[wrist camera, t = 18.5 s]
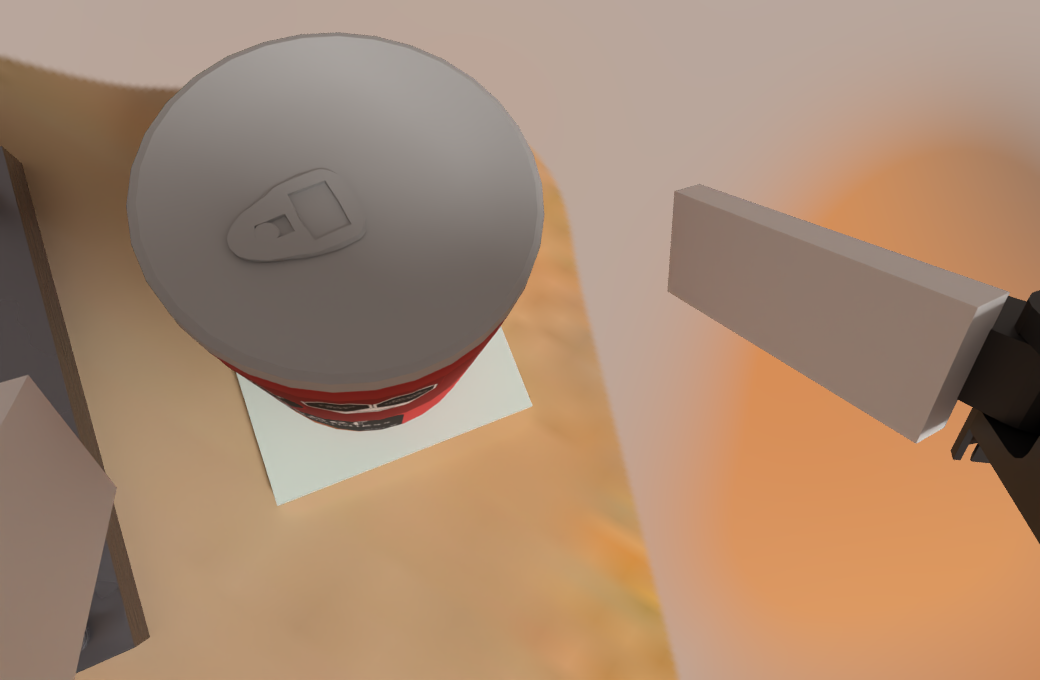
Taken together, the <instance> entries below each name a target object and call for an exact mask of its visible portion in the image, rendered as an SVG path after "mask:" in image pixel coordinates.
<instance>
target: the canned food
mask: <svg viewBox="0 0 1040 680" xmlns="http://www.w3.org/2000/svg"><path fill="white" fill-rule="evenodd" d="M126 208H127V215H128V223H129V230H130V238H131V245H132V247H133V250H134V252H135V255H136V257H137V260H138V262H139V264H140V267H141V269H142V272H143V274H144V277H145V279H146V282H147V283H148V284H149V286H150V287H151V289H152V290H153V291H154V293H155V294H156V295H157V297H158V298H159V300H160V301H161V302H162V304H163V305H164V306H165V308H166V309H167V311H168V312H169V313H170V315H171V316H172V317H173V318H174V319H175V321H176V322H177V324H178V325H179V326H180V327H181V328H182V329H183V330H184V331H186V332H187V333H188V334H189V335H190V336H191V337H192V338H194V339H195V340H196V341H197V342H198V343H199V344H200V345H202V346H203V347H204V348H205V349H206V350H207V351H209V352H210V353H211V354H212V355H214V356H215V357H217V358H218V359H219V360H220V361H222V362H223V363H224V364H225V365H226V366H228V367H229V368H231V369H232V370H234V371H235V372H237V373H238V374H240V375H241V376H243V377H244V378H246V379H247V380H249V381H250V382H252V383H253V384H255V385H256V386H258V387H259V388H261V389H262V390H264V391H265V392H267V393H268V394H270V395H271V396H273V397H274V398H276V399H277V400H279V401H280V402H282V403H283V404H285V405H286V406H288V407H289V408H291V409H292V410H294V411H295V412H297V413H299V414H301V415H302V416H304V417H306V418H308V419H310V420H311V421H313V422H315V423H318V424H322V425H325V426H328V427H331V428H334V429H340V430H349V431H358V432H359V431H371V430H382V429H386V428H389V427H393V426H397V425H400V424H403V423H406V422H408V421H410V420H412V419H414V418H416V417H418V416H420V415H422V414H424V413H425V412H426V411H428V410H429V409H431V408H432V407H433V406H435V405H436V404H437V403H439V402H440V401H441V400H442V399H443V398H444V397H445V396H446V394H447V393H448V392H449V391H450V390H451V389H452V388H453V387H454V386H455V384H456V383H457V382H458V381H459V379H460V378H461V377H462V376H463V374H464V373H465V372H466V370H467V369H468V368H469V367H470V365H471V364H472V363H473V362H474V360H475V359H476V358H477V356H478V355H479V354H480V353H481V351H482V350H483V349H484V348H485V346H486V345H487V344H488V342H489V341H490V340H491V339H492V337H493V336H494V335H495V334H496V332H497V331H498V329H499V328H500V326H501V325H502V323H503V321H504V320H505V319H506V317H507V316H508V314H509V313H510V311H511V310H512V308H513V306H514V305H515V303H516V302H517V300H518V298H519V297H520V295H521V294H522V292H523V290H524V289H525V287H526V284H527V281H528V278H529V276H530V273H531V270H532V268H533V265H534V262H535V259H536V257H537V254H538V251H539V248H540V244H541V236H542V229H543V221H544V205H543V192H542V183H541V179H540V176H539V173H538V169H537V166H536V162H535V159H534V155H533V153H532V151H531V149H530V147H529V145H528V143H527V141H526V140H525V138H524V136H523V134H522V132H521V130H520V128H519V126H518V125H517V124H516V122H515V121H514V120H513V118H512V117H511V116H510V115H509V113H508V112H507V111H506V110H505V108H504V107H503V106H502V104H501V103H500V102H499V101H498V100H497V99H496V98H495V97H494V96H493V95H492V94H491V93H489V92H488V91H487V90H486V89H485V88H484V87H483V86H482V85H481V84H479V83H478V82H477V81H476V80H475V79H474V78H472V77H471V76H469V75H468V74H466V73H464V72H463V71H461V70H460V69H458V68H457V67H455V66H453V65H452V64H450V63H449V62H447V61H446V60H444V59H442V58H439V57H437V56H434V55H432V54H430V53H428V52H425V51H423V50H421V49H418V48H416V47H413V46H411V45H408V44H404V43H400V42H396V41H392V40H388V39H384V38H381V37H376V36H368V35H358V34H348V33H321V34H320V33H319V34H300V35H296V36H291V37H286V38H281V39H277V40H272V41H267V42H263V43H260V44H258V45H255V46H253V47H250V48H248V49H245V50H243V51H240V52H237V53H235V54H232V55H230V56H227V57H226V58H224V59H223V60H221V61H219V62H217V63H216V64H214V65H213V66H211V67H209V68H208V69H206V70H204V71H203V72H201V73H200V74H198V75H196V76H195V77H194V78H193V79H192V80H190V81H189V82H188V83H187V84H186V85H185V86H184V87H183V88H182V89H181V90H180V91H178V92H177V93H176V94H175V95H174V96H173V97H172V98H171V99H170V100H169V101H168V102H167V103H166V104H165V105H164V107H163V108H162V110H161V111H160V113H159V114H158V115H157V117H156V118H155V120H154V121H153V123H152V124H151V126H150V127H149V128H148V130H147V131H146V133H145V134H144V137H143V140H142V142H141V145H140V147H139V150H138V152H137V155H136V157H135V160H134V162H133V165H132V168H131V173H130V181H129V189H128V197H127V205H126Z"/></svg>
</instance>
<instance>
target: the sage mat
mask: <svg viewBox="0 0 1040 680" xmlns="http://www.w3.org/2000/svg"><path fill="white" fill-rule="evenodd" d="M236 374H237V377H238V380H239V384H240V387H241V390H242V393H243V396H244V400H245V403H246V406H247V409H248V413H249V416H250V419H251V422H252V425H253V429H254V432H255V435H256V438H257V442H258V445H259V448H260V451H261V454H262V458H263V461H264V464H265V467H266V471H267V474H268V477H269V480H270V483H271V487H272V490H273V493H274V496H275V500H276V503H277V506H278V505H282V504H285V503H287V502H290V501H292V500H295V499H297V498H300V497H303V496H305V495H308V494H310V493H313V492H315V491H318V490H320V489H323V488H326V487H328V486H331V485H333V484H336V483H338V482H341V481H343V480H346V479H349V478H351V477H354V476H356V475H359V474H361V473H364V472H366V471H369V470H372V469H374V468H377V467H379V466H382V465H384V464H387V463H389V462H392V461H394V460H397V459H400V458H402V457H405V456H407V455H410V454H412V453H415V452H417V451H420V450H423V449H425V448H428V447H430V446H433V445H435V444H438V443H440V442H443V441H446V440H448V439H451V438H453V437H456V436H458V435H461V434H463V433H466V432H469V431H471V430H474V429H476V428H479V427H481V426H484V425H486V424H489V423H492V422H494V421H497V420H499V419H502V418H504V417H507V416H509V415H512V414H514V413H517V412H520V411H522V410H525V409H527V408H529V407H531V406H532V403H531V401H530V398H529V396H528V393H527V391H526V388H525V386H524V383H523V381H522V378H521V376H520V373H519V371H518V368H517V365H516V363H515V360H514V358H513V355H512V353H511V350H510V348H509V345H508V343H507V340H506V338H505V335H504V333H503V330H502V328H501V326H500V328H499V329H498V331H497V332H496V334H495V335H494V336H493V337H492V339H491V340H490V341H489V342H488V344H487V345H486V346H485V348H484V349H483V350H482V351H481V353H480V354H479V355H478V356H477V358H476V359H475V360H474V362H473V363H472V364H471V365H470V367H469V368H468V369H467V370H466V372H465V373H464V374H463V376H462V377H461V378H460V379H459V381H458V382H457V383H456V384H455V386H454V387H453V388H452V389H451V390H450V391H449V392H448V393H447V394H446V396H445V397H444V398H443V399H442V400H441V401H440V402H439V403H437V404H436V405H435V406H433V407H432V408H431V409H429V410H428V411H426V412H425V413H424V414H422V415H420V416H418V417H416V418H414V419H412V420H410V421H408V422H406V423H403V424H400V425H397V426H393V427H389V428H386V429H382V430H371V431H359V432H358V431H349V430H340V429H334V428H331V427H328V426H325V425H322V424H318V423H315V422H313V421H311V420H310V419H308V418H306V417H304V416H302V415H301V414H299V413H297V412H295V411H294V410H292V409H291V408H289V407H288V406H286V405H285V404H283V403H282V402H280V401H279V400H277V399H276V398H274V397H273V396H271V395H270V394H268V393H267V392H265V391H264V390H262V389H261V388H259V387H258V386H256V385H255V384H253V383H252V382H250V381H249V380H247V379H246V378H244V377H243V376H241V375H240V374H238V373H237V372H236Z"/></svg>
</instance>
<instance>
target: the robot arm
mask: <svg viewBox="0 0 1040 680" xmlns="http://www.w3.org/2000/svg"><path fill="white" fill-rule="evenodd" d="M668 292H670V293H671V294H673V295H675V296H676V297H678V298H680V299H681V300H683V301H684V302H686V303H688V304H689V305H691V306H693V307H694V308H696V309H697V310H699V311H701V312H703V313H704V314H706V315H707V316H709V317H710V318H712V319H714V320H715V321H717V322H719V323H720V324H722V325H723V326H725V327H727V328H728V329H730V330H732V331H733V332H735V333H737V334H738V335H740V336H741V337H743V338H745V339H746V340H748V341H750V342H751V343H753V344H755V345H756V346H758V347H759V348H761V349H763V350H764V351H766V352H768V353H769V354H771V355H772V356H774V357H776V358H777V359H779V360H781V361H782V362H784V363H785V364H787V365H789V366H790V367H792V368H794V369H795V370H797V371H798V372H800V373H802V374H803V375H805V376H807V377H808V378H810V379H812V380H813V381H815V382H817V383H818V384H820V385H821V386H823V387H825V388H826V389H828V390H829V391H831V392H833V393H834V394H836V395H838V396H839V397H841V398H843V399H844V400H846V401H847V402H849V403H851V404H852V405H854V406H856V407H857V408H859V409H861V410H862V411H864V412H865V413H867V414H869V415H870V416H872V417H874V418H875V419H877V420H878V421H880V422H882V423H883V424H885V425H887V426H888V427H890V428H891V429H893V430H895V431H896V432H898V433H900V434H901V435H903V436H904V437H906V438H908V439H910V440H911V441H913V442H914V443H918V442H920V441H921V440H923V439H925V438H926V437H928V436H930V435H932V434H933V433H935V432H937V431H939V430H941V429H942V428H944V427H945V425H946V423H947V421H948V419H949V417H950V414H951V413H952V410H953V408H954V406H955V404H956V402H957V400H960V401H962V402H964V403H965V404H967V405H970V406H971V407H973V408H972V410H971V412H970V414H969V416H968V418H967V420H966V422H965V424H964V426H963V428H962V430H961V432H960V433H959V435H958V437H957V439H956V441H955V443H954V445H953V447H952V449H951V453H952V457H953V459H954V460H961V458H962V456H963V454H964V452H965V450H966V448H967V447H968V445H969V444H974V443H978V444H977V446H976V447H975V449H974V451H973V453H972V456H971V459H970V460H971V461H973V462H974V461H975V462H983V463H990V464H991V465H992V467H993V468H994V470H995V472H996V473H997V475H998V476H999V478H1000V480H1001V481H1002V483H1003V485H1004V486H1005V488H1006V490H1007V491H1008V493H1009V495H1010V496H1011V498H1012V499H1013V501H1014V502H1015V504H1016V506H1017V508H1018V509H1019V511H1020V512H1021V514H1022V516H1023V517H1024V519H1025V521H1026V522H1027V524H1028V526H1029V527H1030V529H1031V530H1032V532H1033V534H1034V535H1035V537H1036V539H1037V540H1038V542H1039V543H1040V290H1039V291H1036V292H1034V293H1032V294H1031V295H1030V297H1029V299H1028V300H1027V302H1026V301H1023V300H1020V299H1016V298H1013V297H1010V296H1008V295H1009V292H1008V291H1005V290H1002V289H999V288H996V287H993V286H990V285H987V284H985V283H982V282H979V281H976V280H973V279H970V278H968V277H965V276H962V275H959V274H956V273H953V272H950V271H947V270H944V269H942V268H939V267H936V266H933V265H930V264H927V263H924V262H922V261H918V260H916V259H913V258H910V257H907V256H904V255H901V254H898V253H896V252H893V251H890V250H887V249H884V248H881V247H879V246H875V245H873V244H870V243H867V242H864V241H861V240H859V239H856V238H853V237H850V236H847V235H844V234H841V233H838V232H836V231H833V230H830V229H827V228H824V227H821V226H818V225H815V224H813V223H810V222H807V221H804V220H801V219H798V218H795V217H793V216H790V215H787V214H784V213H781V212H778V211H775V210H772V209H770V208H767V207H764V206H761V205H758V204H755V203H752V202H749V201H747V200H744V199H741V198H738V197H735V196H732V195H729V194H727V193H724V192H721V191H718V190H715V189H712V188H709V187H706V186H704V185H701V184H699V185H695V186H691V187H688V188H684V189H681V190H677V191H675V192H674V207H673V221H672V235H671V249H670V264H669V278H668ZM116 489H117V487H116V486H115V485H114V484H113V482H112V481H111V480H110V478H109V477H108V476H107V475H106V473H105V472H104V471H103V470H102V468H101V467H100V466H99V464H98V463H97V462H96V461H95V459H94V458H93V457H92V455H91V454H90V453H89V452H88V450H87V449H86V448H85V447H84V445H83V444H82V443H81V441H80V440H79V439H78V438H77V436H76V435H75V434H74V433H73V431H72V430H71V429H70V427H69V426H68V425H67V424H66V422H65V421H64V420H63V418H62V417H61V416H60V415H59V413H58V412H57V411H56V410H55V408H54V407H53V406H52V404H51V403H50V402H49V401H48V399H47V398H46V397H45V396H44V394H43V393H42V392H41V390H40V389H39V388H38V387H37V385H36V384H35V383H34V381H33V380H32V379H31V378H30V376H29V375H26V376H22V377H19V378H15V379H12V380H8V381H5V382H1V383H0V680H74V679H75V674H76V670H77V665H78V661H79V656H80V652H81V647H82V643H83V638H84V633H85V629H86V624H87V620H88V615H89V611H90V606H91V602H92V597H93V593H94V588H95V584H96V579H97V575H98V570H99V566H100V561H101V557H102V552H103V547H104V543H105V538H106V534H107V529H108V525H109V520H110V516H111V511H112V507H113V502H114V498H115V493H116Z"/></svg>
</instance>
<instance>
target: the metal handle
mask: <svg viewBox="0 0 1040 680" xmlns="http://www.w3.org/2000/svg"><path fill="white" fill-rule="evenodd" d="M26 375H29V376H30V378H31V379H32V380H33V381H34V383H35V384H36V385H37V387H38V388H39V389H40V390H41V392H42V393H43V394H44V396H45V397H46V398H47V399H48V401H49V402H50V403H51V404H52V406H53V407H54V408H55V410H56V411H57V412H58V413H59V415H60V416H61V417H62V418H63V420H64V421H65V422H66V424H67V425H68V426H69V427H70V429H71V430H72V431H73V433H74V434H75V435H76V436H77V438H78V439H79V440H80V441H81V443H82V444H83V445H84V447H85V448H86V449H87V450H88V452H89V453H90V454H91V455H92V457H93V458H94V459H95V461H96V462H97V463H98V464H99V466H100V467H101V468H102V470H103V471H104V472H105V470H104V466H103V462H102V459H101V455H100V451H99V447H98V444H97V440H96V436H95V433H94V429H93V425H92V422H91V418H90V414H89V411H88V407H87V403H86V400H85V396H84V392H83V388H82V385H81V381H80V377H79V374H78V370H77V366H76V363H75V359H74V355H73V352H72V348H71V344H70V340H69V337H68V333H67V329H66V326H65V322H64V318H63V315H62V311H61V307H60V304H59V300H58V296H57V293H56V289H55V285H54V281H53V278H52V274H51V270H50V267H49V263H48V259H47V256H46V252H45V248H44V245H43V241H42V237H41V233H40V230H39V226H38V222H37V219H36V215H35V211H34V208H33V204H32V200H31V197H30V193H29V189H28V186H27V182H26V178H25V174H24V171H23V167H22V163H21V162H19V161H18V160H17V159H16V158H15V157H14V156H12V155H11V154H10V153H9V152H8V151H7V150H6V149H4V148H3V147H2V146H0V383H1V382H5V381H8V380H12V379H15V378H19V377H22V376H26ZM149 637H150V636H149V632H148V628H147V625H146V621H145V617H144V614H143V610H142V606H141V602H140V599H139V595H138V591H137V588H136V584H135V580H134V577H133V573H132V569H131V566H130V562H129V558H128V555H127V551H126V547H125V543H124V540H123V536H122V532H121V529H120V525H119V521H118V518H117V514H116V510H115V507H114V503H113V507H112V511H111V516H110V520H109V525H108V529H107V534H106V538H105V543H104V547H103V552H102V557H101V561H100V566H99V570H98V575H97V579H96V584H95V588H94V593H93V597H92V602H91V606H90V611H89V615H88V620H87V624H86V629H85V633H84V638H83V643H82V647H81V652H80V656H79V661H78V665H77V670H76V673H78V672H80V671H82V670H85V669H87V668H89V667H91V666H94V665H96V664H98V663H100V662H103V661H105V660H107V659H109V658H112V657H114V656H116V655H119V654H121V653H123V652H125V651H128V650H130V649H132V648H134V647H136V646H137V645H139V644H140V643H142V642H143V641H145V640H146V639H148V638H149Z"/></svg>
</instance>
